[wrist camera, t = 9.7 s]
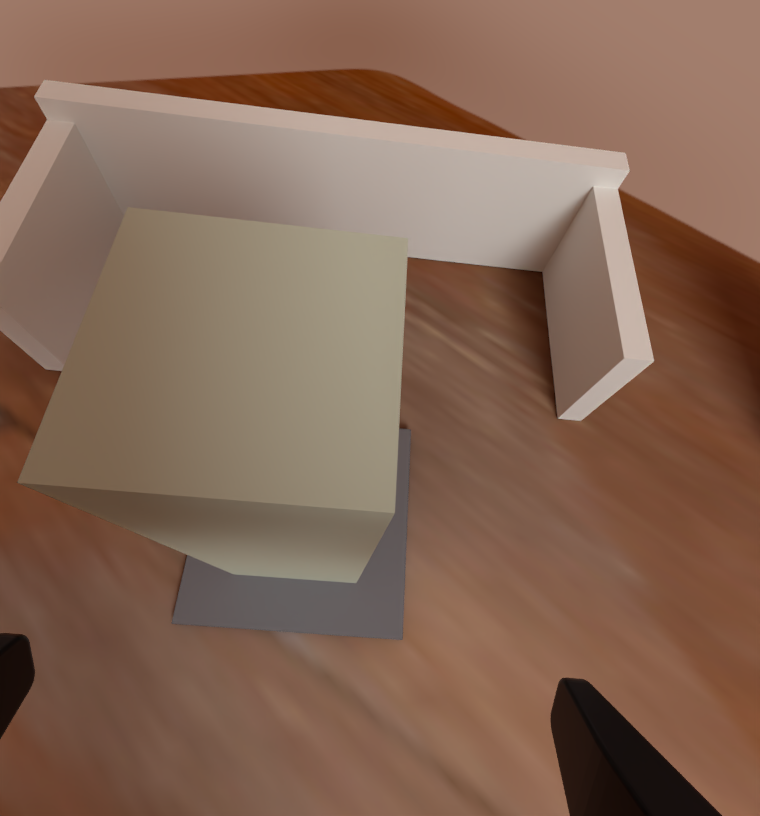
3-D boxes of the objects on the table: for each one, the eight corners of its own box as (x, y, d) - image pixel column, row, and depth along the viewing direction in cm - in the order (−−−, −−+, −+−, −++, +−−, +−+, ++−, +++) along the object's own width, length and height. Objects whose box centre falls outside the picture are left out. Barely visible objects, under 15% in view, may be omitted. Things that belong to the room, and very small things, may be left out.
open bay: (580, 420, 23) (670, 347, 17) (45, 369, 22) (-71, 269, 16) (560, 258, 28) (625, 153, 22) (113, 208, 27) (44, 79, 20)
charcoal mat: (401, 639, 19) (402, 640, 18) (174, 623, 18) (171, 623, 18) (409, 432, 22) (410, 429, 22) (222, 415, 22) (220, 411, 22)
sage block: (356, 583, 19) (395, 513, 6) (233, 574, 19) (16, 482, 6) (365, 466, 21) (407, 238, 8) (254, 457, 21) (127, 206, 8)
